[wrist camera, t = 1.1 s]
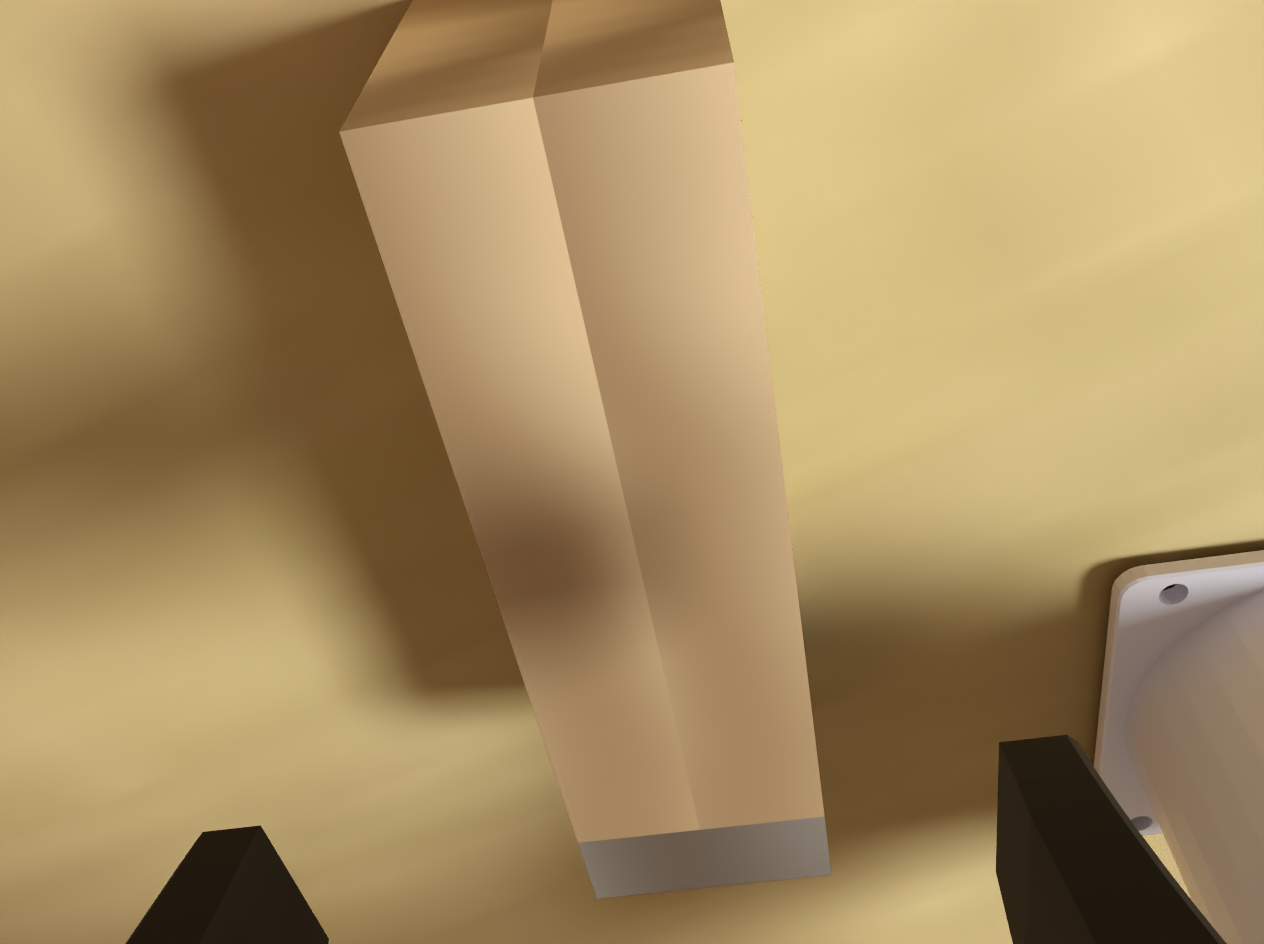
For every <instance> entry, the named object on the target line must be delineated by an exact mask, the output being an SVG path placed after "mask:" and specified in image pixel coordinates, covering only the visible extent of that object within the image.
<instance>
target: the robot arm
mask: <svg viewBox="0 0 1264 944" xmlns="http://www.w3.org/2000/svg"><path fill="white" fill-rule="evenodd" d="M1173 584H1176V585H1175V586H1174V587H1172V588H1170V589H1167V590H1163V589H1164V588H1166V587H1167V586H1170V585H1173ZM1160 833H1163V834H1164V837H1165V839H1166V841H1167V844H1168V846H1169V848H1170V851H1171V853H1172V855H1173V857H1174V860H1175V862H1176V864H1177V867H1178V869H1179V871H1180V874H1181V876H1182V878H1183V881H1184V883H1185V885H1186V887H1187V890H1188V892H1189V894H1190V897H1191V899H1192V901H1193V902H1192V901H1191V899H1190V898H1189V897H1188V895H1187V894H1186V893H1185V892H1184V890H1183V889H1182V888H1181V887H1180V885H1179V884H1178V883H1177V881H1176V880H1175V879H1174V878H1173V876H1172V875H1171V874H1170V872H1169V871H1168V870H1167V868H1166V867H1165V866H1164V864H1163V863H1162V862H1161V860H1160V859H1159V858H1158V856H1157V855H1156V854H1155V852H1154V851H1153V850H1152V848H1151V847H1150V846H1149V844H1148V843H1147V842H1146V840H1145V839H1144V838H1143V836H1142V835H1151V834H1160ZM996 874H997V878H998V882H999V886H1000V891H1001V895H1002V899H1003V903H1004V908H1005V912H1006V916H1007V920H1008V924H1009V929H1010V933H1011V937H1012V941H1013V944H1264V550H1261V551H1253V552H1245V553H1237V554H1229V555H1221V556H1213V557H1205V558H1197V559H1189V560H1181V561H1173V562H1165V563H1157V564H1149V565H1141V566H1137V567H1133V568H1130V569H1128V570H1127V571H1125V572H1123V573H1122V574H1121V575H1120V576H1119V577H1118V578H1117V579H1116V580H1115V582H1114V584H1113V587H1112V593H1111V602H1110V612H1109V622H1108V632H1107V642H1106V651H1105V661H1104V671H1103V681H1102V691H1101V700H1100V710H1099V720H1098V730H1097V740H1096V749H1095V759H1094V767H1093V765H1092V763H1091V762H1090V760H1089V759H1088V757H1087V756H1086V754H1085V753H1084V751H1083V749H1082V748H1081V746H1080V745H1079V743H1078V742H1077V741H1075V740H1074V739H1072V738H1071V737H1069V736H1068V735H1061V736H1052V737H1044V738H1035V739H1026V740H1017V741H1008V742H999V772H998V811H997V850H996ZM328 942H329V938H328V937H327V935H326V933H325V932H324V930H323V928H322V927H321V925H320V923H319V922H318V920H317V918H316V917H315V915H314V913H313V912H312V910H311V908H310V907H309V905H308V903H307V902H306V900H305V898H304V897H303V895H302V893H301V892H300V890H299V889H298V887H297V885H296V884H295V882H294V880H293V879H292V877H291V875H290V874H289V872H288V870H287V869H286V867H285V865H284V864H283V862H282V860H281V859H280V857H279V855H278V854H277V852H276V850H275V849H274V847H273V845H272V844H271V842H270V840H269V839H268V837H267V835H266V834H265V832H264V830H263V829H262V827H261V826H253V827H244V828H235V829H226V830H217V831H208V832H203V833H202V834H201V835H200V837H199V838H198V839H197V841H196V842H195V843H194V845H193V846H192V848H191V849H190V851H189V852H188V853H187V855H186V856H185V858H184V859H183V860H182V862H181V863H180V865H179V866H178V868H177V869H176V871H175V872H174V873H173V875H172V876H171V878H170V879H169V881H168V882H167V884H166V885H165V887H164V888H163V890H162V891H161V893H160V894H159V895H158V897H157V898H156V900H155V901H154V903H153V904H152V906H151V907H150V909H149V910H148V912H147V913H146V915H145V916H144V917H143V919H142V920H141V922H140V923H139V925H138V926H137V928H136V929H135V931H134V932H133V934H132V935H131V937H130V938H129V939H128V941H127V942H126V944H328Z"/></svg>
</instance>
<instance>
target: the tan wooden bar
mask: <svg viewBox="0 0 1264 944" xmlns="http://www.w3.org/2000/svg"><path fill="white" fill-rule="evenodd" d="M339 133H340V136H341V139H342V142H343V145H344V148H345V151H346V154H347V157H348V160H349V163H350V166H351V169H352V172H353V175H354V178H355V181H356V184H357V187H358V190H359V193H360V196H361V199H362V202H363V205H364V207H365V210H366V213H367V216H368V219H369V222H370V225H371V228H372V231H373V234H374V237H375V240H376V243H377V246H378V249H379V252H380V255H381V258H382V261H383V264H384V267H385V270H386V273H387V276H388V279H389V282H390V285H391V288H392V291H393V294H394V297H395V300H396V303H397V306H398V309H399V312H400V315H401V318H402V321H403V324H404V327H405V330H406V333H407V336H408V339H409V342H410V345H411V348H412V351H413V354H414V356H415V359H416V362H417V365H418V368H419V371H420V374H421V377H422V380H423V383H424V386H425V389H426V392H427V395H428V398H429V401H430V404H431V407H432V410H433V413H434V416H435V419H436V422H437V425H438V428H439V431H440V434H441V437H442V440H443V443H444V446H445V449H446V452H447V455H448V458H449V461H450V464H451V467H452V470H453V473H454V476H455V479H456V482H457V485H458V488H459V491H460V494H461V497H462V500H463V503H464V505H465V508H466V511H467V514H468V517H469V520H470V523H471V526H472V529H473V532H474V535H475V538H476V541H477V544H478V547H479V550H480V553H481V556H482V559H483V562H484V565H485V568H486V571H487V574H488V577H489V580H490V583H491V586H492V589H493V592H494V595H495V598H496V601H497V604H498V607H499V610H500V613H501V616H502V619H503V622H504V625H505V628H506V631H507V634H508V637H509V640H510V643H511V646H512V649H513V652H514V654H515V657H516V660H517V663H518V666H519V669H520V672H521V675H522V678H523V681H524V684H525V687H526V690H527V693H528V696H529V699H530V702H531V705H532V708H533V711H534V714H535V717H536V720H537V723H538V726H539V729H540V732H541V735H542V738H543V741H544V744H545V747H546V750H547V753H548V756H549V759H550V762H551V765H552V768H553V771H554V774H555V777H556V780H557V783H558V786H559V789H560V792H561V795H562V798H563V801H564V804H565V806H566V809H567V812H568V815H569V818H570V821H571V824H572V827H573V830H574V833H575V836H576V839H577V842H578V845H579V848H580V851H581V854H582V857H583V860H584V863H585V866H586V869H587V872H588V875H589V878H590V881H591V884H592V887H593V890H594V893H595V896H596V899H599V898H609V897H619V896H629V895H638V894H648V893H658V892H668V891H678V890H688V889H698V888H708V887H718V886H728V885H738V884H748V883H758V882H768V881H778V880H788V879H798V878H808V877H817V876H827V875H832V874H831V866H830V857H829V849H828V841H827V832H826V824H825V816H824V807H823V799H822V791H821V783H820V774H819V766H818V758H817V749H816V741H815V733H814V724H813V716H812V708H811V699H810V691H809V683H808V674H807V666H806V658H805V650H804V641H803V633H802V625H801V616H800V608H799V600H798V591H797V583H796V575H795V566H794V558H793V550H792V541H791V533H790V525H789V517H788V508H787V500H786V492H785V483H784V475H783V467H782V458H781V450H780V442H779V433H778V425H777V417H776V408H775V400H774V392H773V384H772V375H771V367H770V359H769V350H768V342H767V334H766V325H765V317H764V309H763V300H762V292H761V284H760V275H759V267H758V259H757V251H756V242H755V234H754V226H753V217H752V209H751V201H750V192H749V184H748V176H747V167H746V159H745V151H744V142H743V134H742V126H741V118H740V109H739V101H738V93H737V84H736V76H735V68H734V61H733V56H732V52H731V47H730V43H729V38H728V34H727V29H726V25H725V20H724V15H723V11H722V6H721V2H720V0H412V2H411V4H410V6H409V7H408V9H407V11H406V13H405V15H404V16H403V18H402V20H401V22H400V24H399V25H398V27H397V29H396V31H395V32H394V34H393V36H392V38H391V40H390V41H389V43H388V45H387V47H386V49H385V50H384V52H383V54H382V56H381V58H380V59H379V61H378V63H377V65H376V66H375V68H374V70H373V72H372V74H371V75H370V77H369V79H368V81H367V83H366V84H365V86H364V88H363V90H362V91H361V93H360V95H359V97H358V99H357V100H356V102H355V104H354V106H353V108H352V109H351V111H350V113H349V115H348V116H347V118H346V120H345V122H344V124H343V125H342V127H341V129H340V131H339Z"/></svg>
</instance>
